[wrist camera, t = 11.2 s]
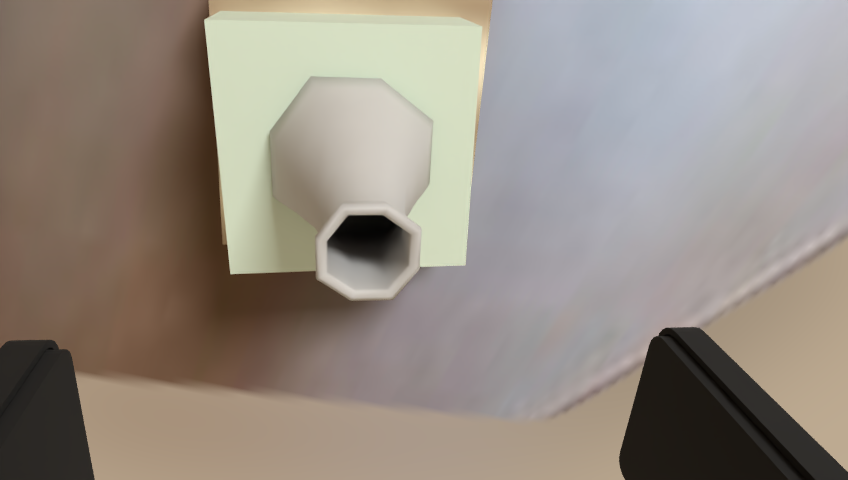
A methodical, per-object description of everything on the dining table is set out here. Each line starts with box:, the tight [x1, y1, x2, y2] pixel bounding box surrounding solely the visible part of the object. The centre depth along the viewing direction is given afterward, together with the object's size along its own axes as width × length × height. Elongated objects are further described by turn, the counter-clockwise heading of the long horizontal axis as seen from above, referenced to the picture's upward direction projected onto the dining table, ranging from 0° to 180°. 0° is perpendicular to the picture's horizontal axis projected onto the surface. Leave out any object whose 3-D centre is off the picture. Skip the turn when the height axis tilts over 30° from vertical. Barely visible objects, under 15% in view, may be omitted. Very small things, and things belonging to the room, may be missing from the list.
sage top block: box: [204, 11, 482, 274], centre depth 29 cm, size 11×11×4 cm
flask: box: [270, 76, 433, 301], centre depth 22 cm, size 7×7×10 cm
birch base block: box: [208, 0, 492, 245], centre depth 33 cm, size 13×13×4 cm
